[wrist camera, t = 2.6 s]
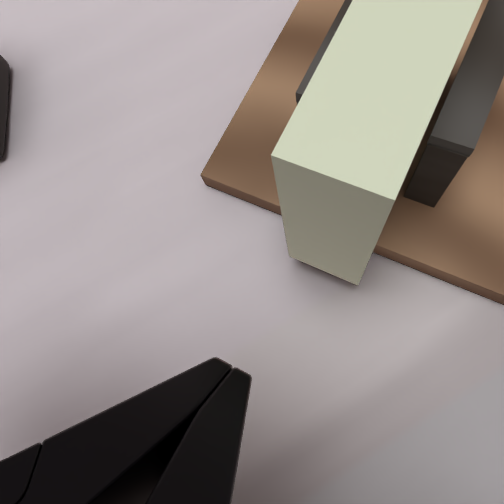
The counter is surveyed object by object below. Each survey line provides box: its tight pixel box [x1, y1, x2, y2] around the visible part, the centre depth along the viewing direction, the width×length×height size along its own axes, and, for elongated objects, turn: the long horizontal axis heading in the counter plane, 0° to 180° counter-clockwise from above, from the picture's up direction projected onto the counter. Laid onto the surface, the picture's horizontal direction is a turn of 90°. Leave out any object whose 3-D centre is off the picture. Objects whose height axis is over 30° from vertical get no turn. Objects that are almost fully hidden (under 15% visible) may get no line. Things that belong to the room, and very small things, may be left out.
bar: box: [271, 0, 482, 286], centre depth 14 cm, size 11×3×8 cm, turn 153°
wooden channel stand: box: [201, 0, 504, 305], centre depth 18 cm, size 16×14×6 cm
